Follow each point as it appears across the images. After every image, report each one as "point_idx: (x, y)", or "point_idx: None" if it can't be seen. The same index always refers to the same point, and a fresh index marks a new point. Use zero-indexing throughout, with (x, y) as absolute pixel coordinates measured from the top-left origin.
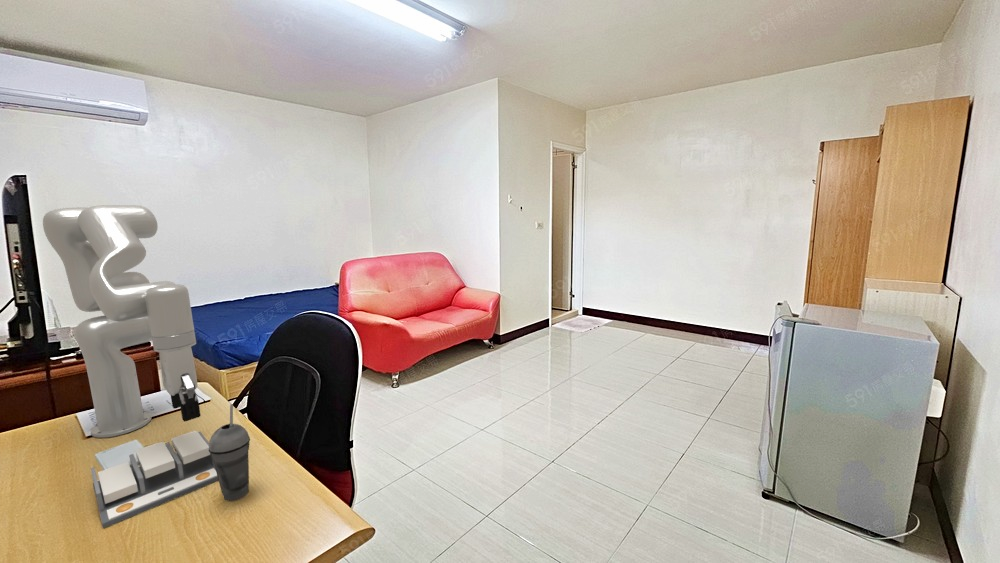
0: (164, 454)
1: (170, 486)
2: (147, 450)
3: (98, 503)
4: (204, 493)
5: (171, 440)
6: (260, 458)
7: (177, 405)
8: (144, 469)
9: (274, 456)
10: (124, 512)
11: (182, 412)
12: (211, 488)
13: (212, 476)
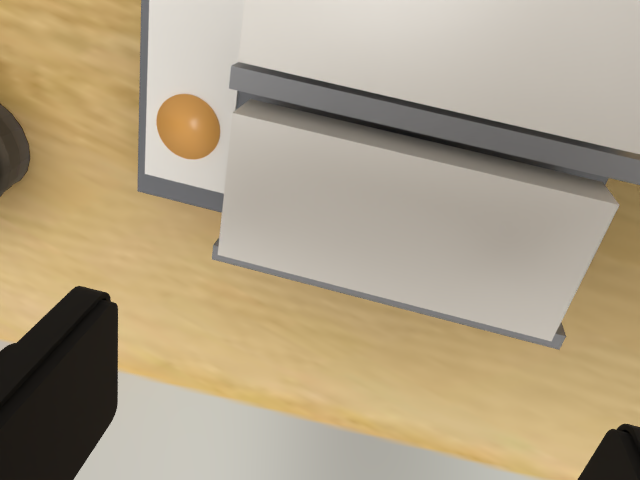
0: (392, 60)
1: None
2: (611, 11)
3: None
4: (91, 69)
5: (610, 197)
6: (182, 332)
7: (603, 474)
8: None
9: (150, 361)
10: None
11: (6, 361)
12: (109, 108)
13: (148, 150)
